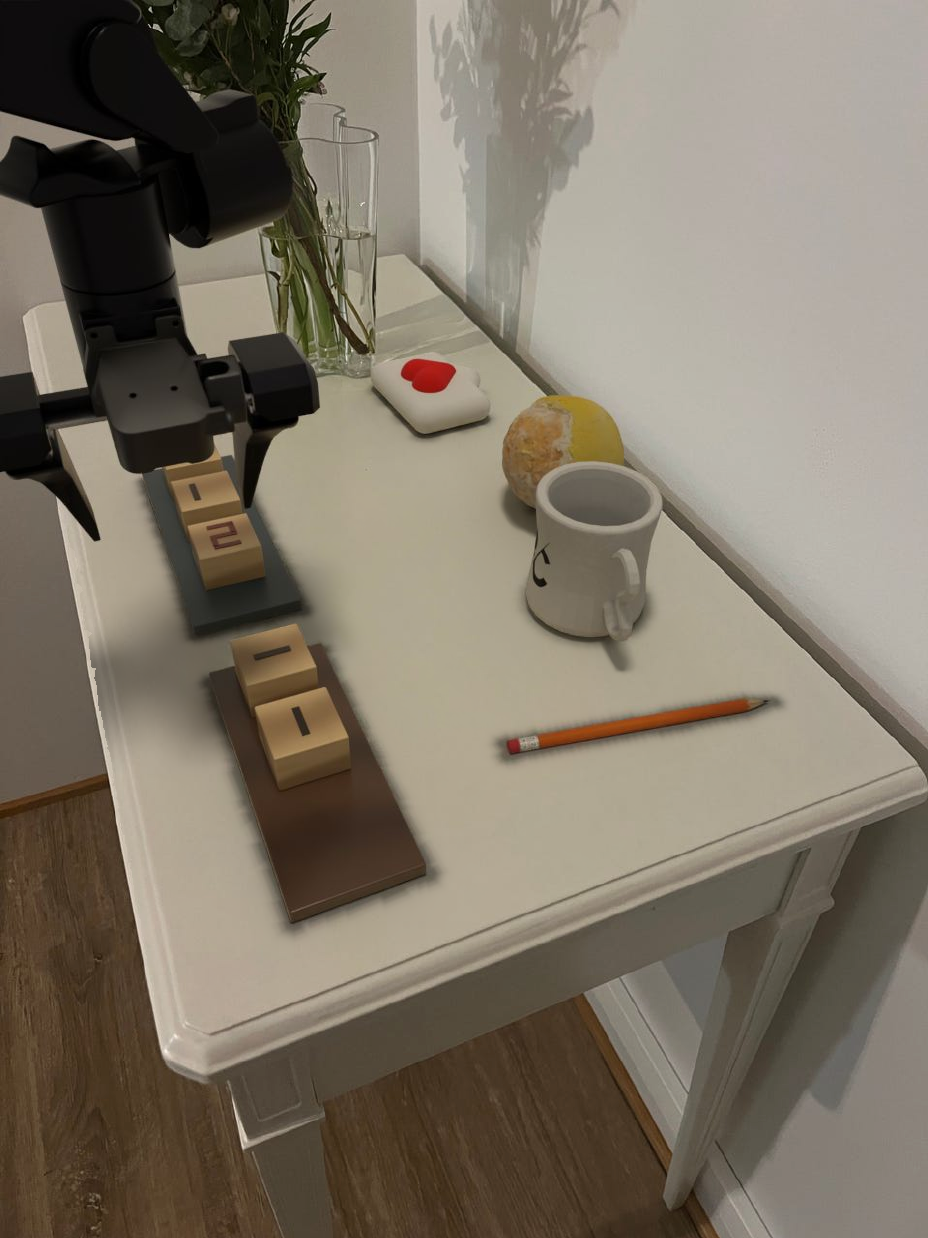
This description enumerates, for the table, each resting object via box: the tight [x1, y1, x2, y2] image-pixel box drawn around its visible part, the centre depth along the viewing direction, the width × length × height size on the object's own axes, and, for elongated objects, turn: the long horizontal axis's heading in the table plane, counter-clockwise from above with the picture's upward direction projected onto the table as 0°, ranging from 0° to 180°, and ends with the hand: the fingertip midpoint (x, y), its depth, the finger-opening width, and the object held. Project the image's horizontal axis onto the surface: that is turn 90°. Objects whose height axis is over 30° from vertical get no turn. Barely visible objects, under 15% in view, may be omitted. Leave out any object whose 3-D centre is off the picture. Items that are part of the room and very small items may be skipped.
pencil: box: [506, 698, 771, 755], centre depth 63 cm, size 1×19×1 cm, turn 104°
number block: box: [187, 513, 265, 590], centre depth 72 cm, size 5×5×3 cm
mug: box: [525, 461, 663, 643], centre depth 68 cm, size 12×9×10 cm
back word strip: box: [141, 443, 303, 637], centre depth 76 cm, size 22×8×4 cm, turn 24°
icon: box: [370, 351, 491, 435], centre depth 94 cm, size 12×4×10 cm
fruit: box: [501, 394, 625, 510], centre depth 78 cm, size 10×11×10 cm
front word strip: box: [208, 623, 427, 923], centre depth 58 cm, size 20×8×4 cm, turn 24°
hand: (173, 521), depth 58 cm, fingers open, 9 cm apart
